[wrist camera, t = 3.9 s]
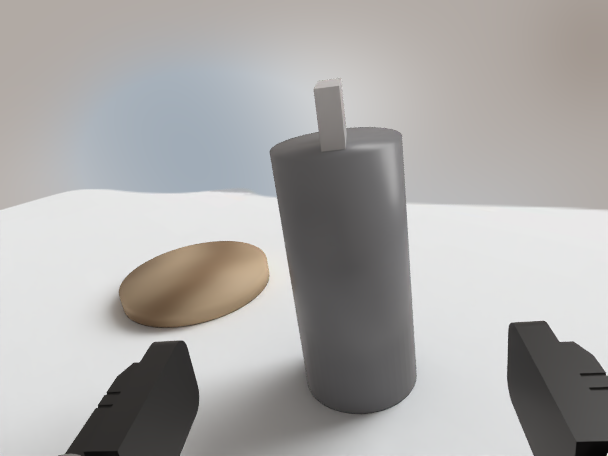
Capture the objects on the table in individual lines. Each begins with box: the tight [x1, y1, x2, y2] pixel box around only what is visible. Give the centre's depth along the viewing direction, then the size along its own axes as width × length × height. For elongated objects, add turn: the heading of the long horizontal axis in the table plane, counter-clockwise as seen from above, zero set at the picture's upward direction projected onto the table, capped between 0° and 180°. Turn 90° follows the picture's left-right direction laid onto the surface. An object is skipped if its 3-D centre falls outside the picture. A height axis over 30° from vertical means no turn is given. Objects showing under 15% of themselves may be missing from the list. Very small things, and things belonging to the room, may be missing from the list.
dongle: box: [270, 78, 417, 414], centre depth 18 cm, size 5×5×12 cm
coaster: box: [119, 241, 269, 327], centre depth 30 cm, size 9×9×1 cm
